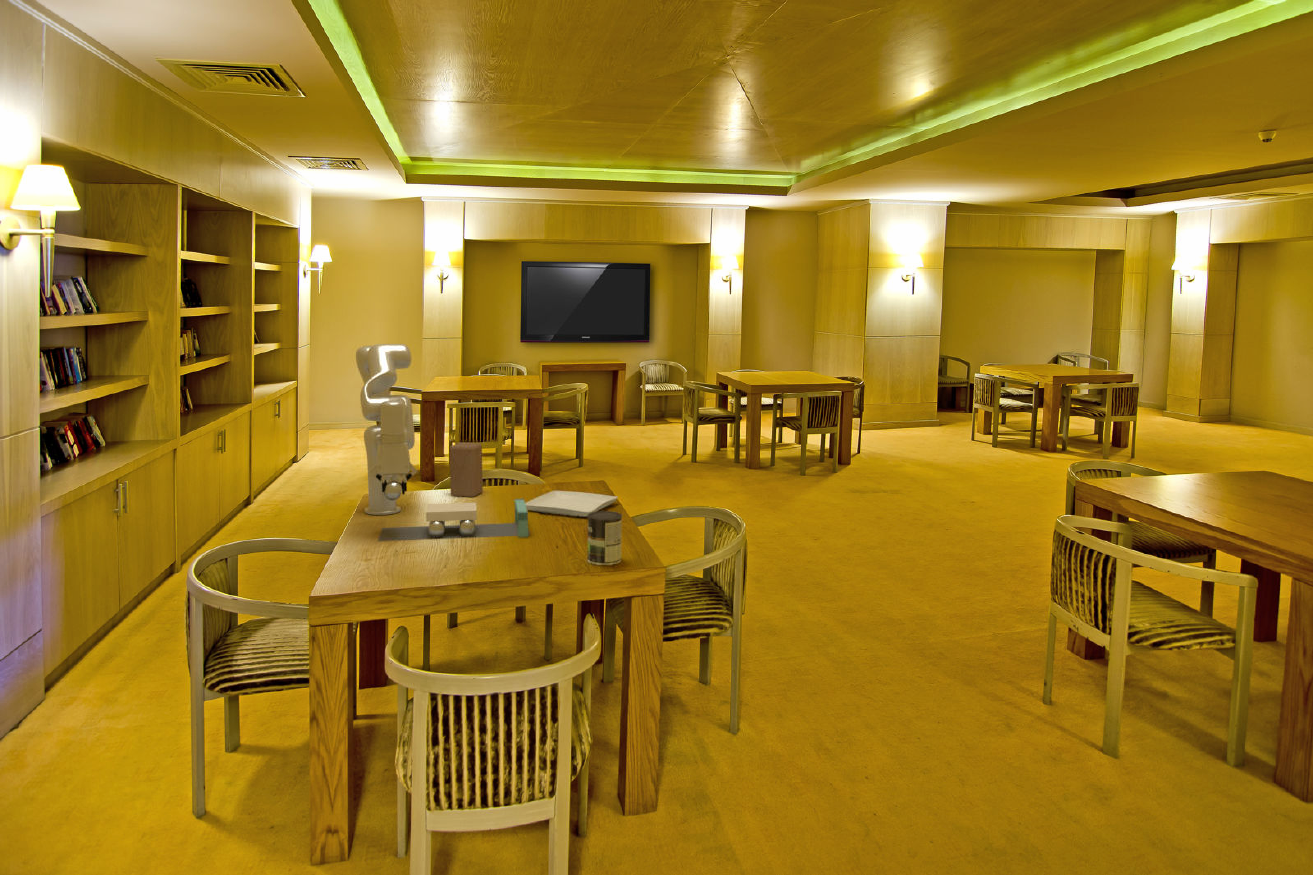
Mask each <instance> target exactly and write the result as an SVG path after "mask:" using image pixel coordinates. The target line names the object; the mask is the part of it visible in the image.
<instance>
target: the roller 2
mask: <svg viewBox="0 0 1313 875" xmlns="http://www.w3.org/2000/svg"><path fill="white" fill-rule="evenodd" d="M475 524H476V520H459V525H460V533H461V535H462V536H464V537H471V536H472V535H473V534H474V533H475Z"/></svg>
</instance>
